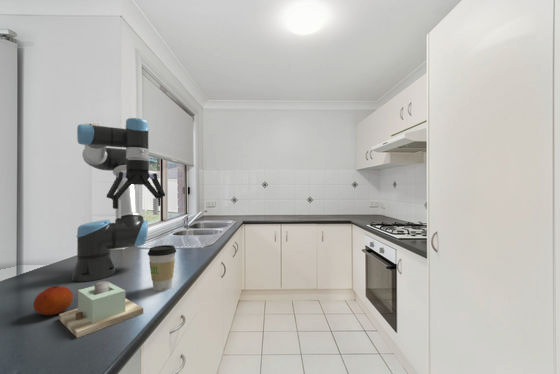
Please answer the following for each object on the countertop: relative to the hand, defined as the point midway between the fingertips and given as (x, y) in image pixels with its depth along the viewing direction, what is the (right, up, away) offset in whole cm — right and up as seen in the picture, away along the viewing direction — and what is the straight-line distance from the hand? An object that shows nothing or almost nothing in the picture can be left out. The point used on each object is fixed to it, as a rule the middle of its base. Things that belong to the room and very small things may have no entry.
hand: (138, 216), depth 99 cm
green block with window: (+2, -25, -23) cm, 34 cm away
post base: (+2, -26, -23) cm, 35 cm away
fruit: (-14, -27, -20) cm, 37 cm away
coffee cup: (+10, -27, -1) cm, 29 cm away
